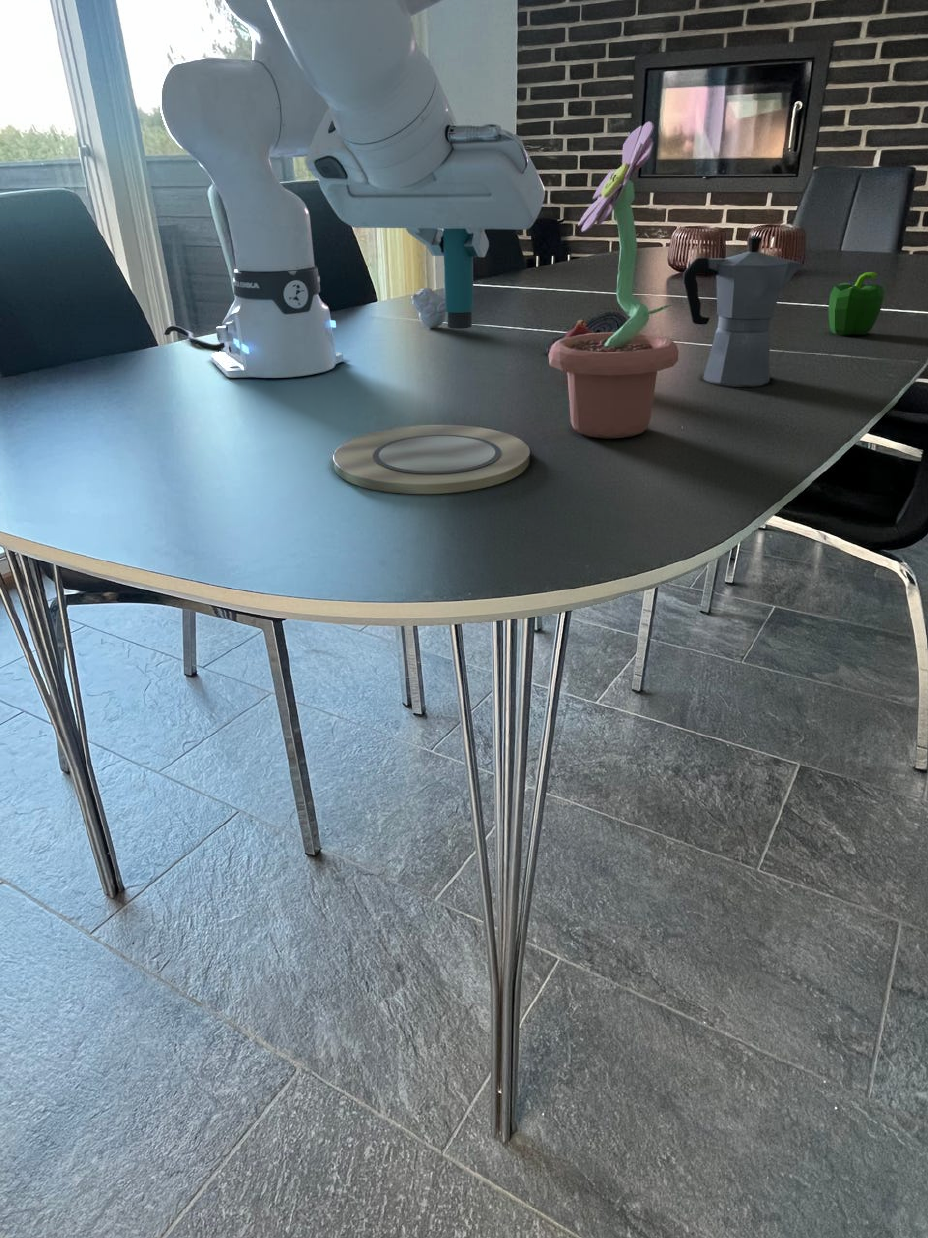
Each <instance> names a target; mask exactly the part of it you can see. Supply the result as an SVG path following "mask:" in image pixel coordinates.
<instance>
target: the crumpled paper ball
mask: <svg viewBox="0 0 928 1238" xmlns="http://www.w3.org/2000/svg"><path fill="white" fill-rule="evenodd" d="M411 299H412V301H411V302H412V303H411V304H412V306H413V307H414V309H415V310H416V311H417V312H418V317H419V320H420V322H421V323H422V325H424V326H425V327H427V328H430V329H434V328H438V327H440V326H441V325H442V324H444V322H445V319H446V317H447V312H446V311H445V296H443V295H441V294H438V293H437V292H436V291H434V290H433V289H432V288H430V287H423V288H420V289H419V290H417V292H416V293H414V294H413V295H412V296H411Z"/></svg>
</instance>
